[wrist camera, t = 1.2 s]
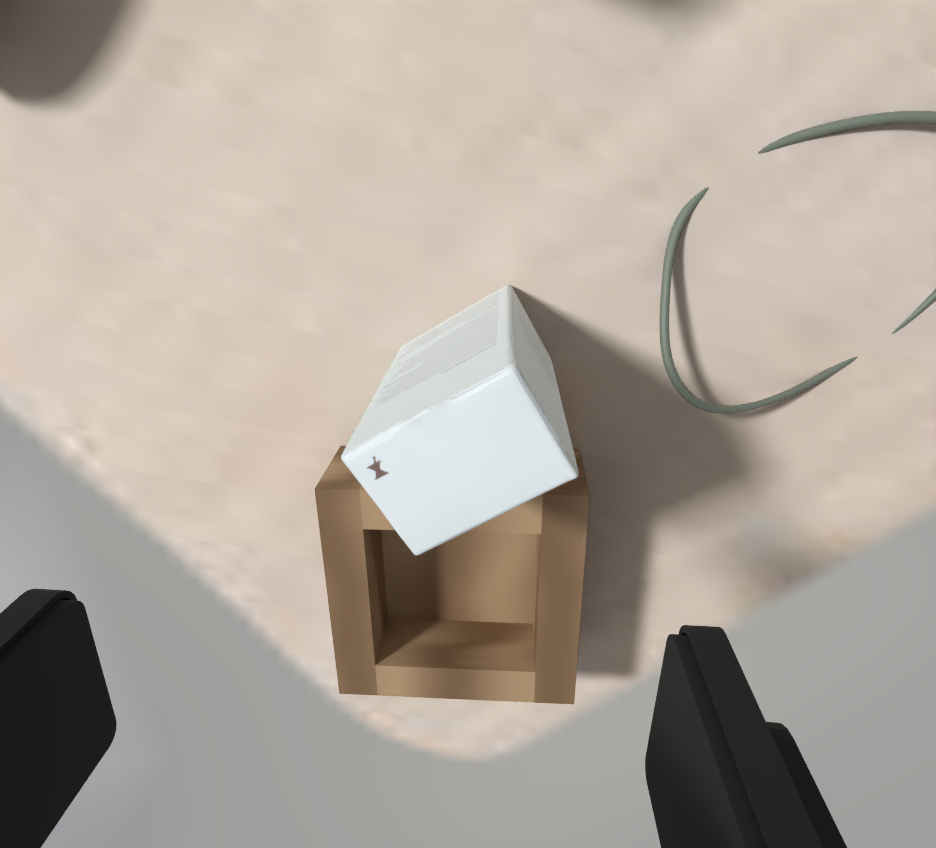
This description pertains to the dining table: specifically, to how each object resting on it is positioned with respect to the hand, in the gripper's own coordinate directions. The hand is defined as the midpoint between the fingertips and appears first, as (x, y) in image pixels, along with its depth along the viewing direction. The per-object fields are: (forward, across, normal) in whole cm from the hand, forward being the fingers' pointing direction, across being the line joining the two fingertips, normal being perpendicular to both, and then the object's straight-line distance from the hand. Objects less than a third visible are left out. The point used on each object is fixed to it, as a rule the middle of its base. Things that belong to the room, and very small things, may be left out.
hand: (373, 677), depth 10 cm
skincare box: (+21, -1, +1) cm, 21 cm away
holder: (+21, 0, +12) cm, 24 cm away
